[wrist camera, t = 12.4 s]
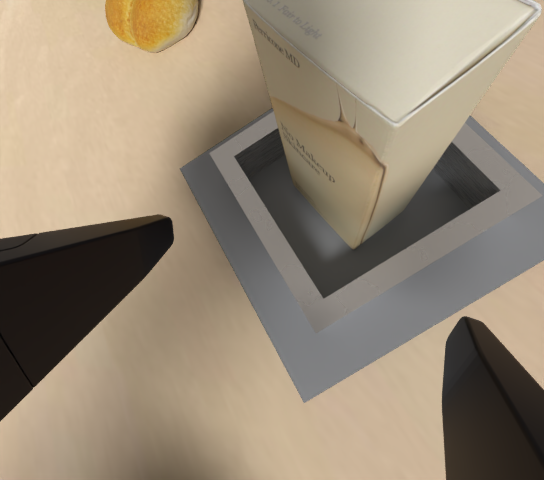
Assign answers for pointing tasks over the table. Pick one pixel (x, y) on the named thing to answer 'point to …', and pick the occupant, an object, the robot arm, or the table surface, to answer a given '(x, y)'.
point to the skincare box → (377, 92)
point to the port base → (361, 264)
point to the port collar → (481, 216)
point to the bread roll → (151, 21)
